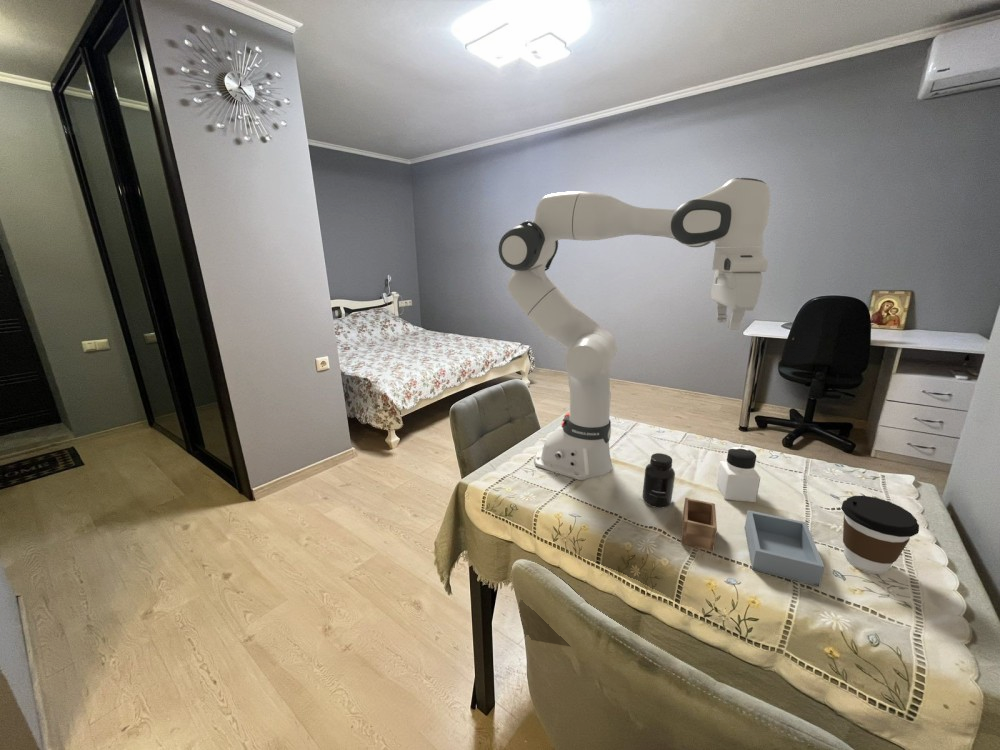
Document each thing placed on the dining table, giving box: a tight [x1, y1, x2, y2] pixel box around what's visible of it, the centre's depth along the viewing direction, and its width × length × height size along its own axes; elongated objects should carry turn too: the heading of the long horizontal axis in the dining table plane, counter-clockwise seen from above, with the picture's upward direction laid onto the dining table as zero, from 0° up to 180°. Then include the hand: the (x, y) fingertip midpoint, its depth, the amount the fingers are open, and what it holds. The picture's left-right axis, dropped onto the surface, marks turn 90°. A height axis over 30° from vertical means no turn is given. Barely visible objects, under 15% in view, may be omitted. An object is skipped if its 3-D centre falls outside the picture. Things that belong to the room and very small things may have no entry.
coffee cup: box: [840, 495, 920, 575], centre depth 78 cm, size 11×11×12 cm
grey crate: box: [744, 509, 825, 588], centre depth 81 cm, size 11×14×4 cm
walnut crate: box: [680, 497, 718, 553], centre depth 87 cm, size 6×9×6 cm, turn 155°
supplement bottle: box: [642, 452, 676, 509], centre depth 99 cm, size 7×7×12 cm
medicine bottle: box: [716, 446, 761, 503], centre depth 101 cm, size 7×7×12 cm
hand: (726, 325), depth 90 cm, fingers open, 8 cm apart
